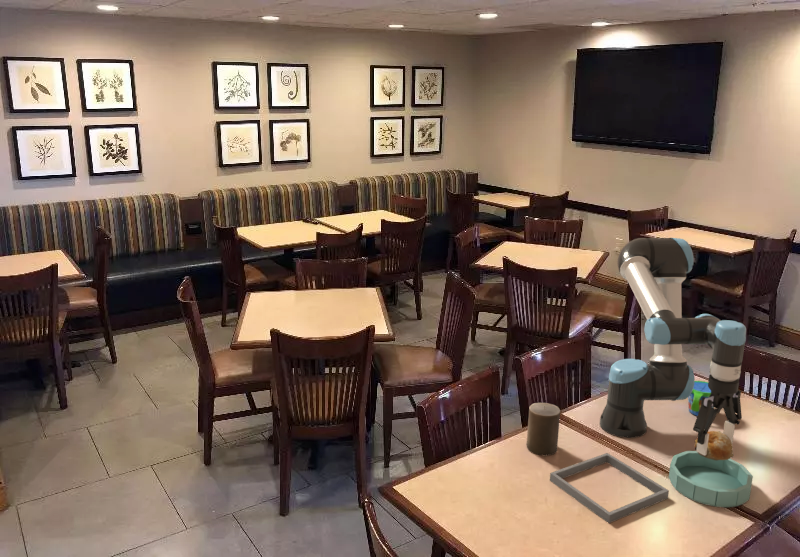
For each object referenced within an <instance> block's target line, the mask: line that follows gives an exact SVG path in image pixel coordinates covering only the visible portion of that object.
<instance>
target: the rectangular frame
mask: <svg viewBox="0 0 800 557" xmlns="http://www.w3.org/2000/svg"><path fill="white" fill-rule="evenodd" d="M605 463H607V464H608V465H610V466H612V467H613V468H614V469H617V471H619V472H621V473H623V474H624V475H626V476H628V477H629V478H631V479H633V480H634V481H635V482H637V483H639V484H640V485H642V486H643V487H645V488H647V489H649V491H652V492H653V493H652V494H650V495H647V496H645V497H643V498H640V499H638V500H635V501H633V502H630V503H628V504H626V505H624V506H621V507H618V508H616V509H613V510H610V511H609V510H608V509H606V508H604V507H603V506H602V505H600V504H599V503H597V502H596V501H594V500H593V499H591V497H589V496H588V495H586V494H584V493H583V492H582V491H580V490H579V489H578V488H576V487H575V486H574V485H572V484H570V483H569V482H568V481H566V480H565V478H567V477H570V476H573V475H576V474H579V473H581V472H584V471H587V470H590V469H592V468H595V467H598V466H600V465H603V464H605ZM549 474H550V475H549V482H551V483H552V482H553V484H554V485H555V486H556V487H558V488H559V487H560V488H559V489H561V491H563V492H565V493H566V494H568V495H569V496H571V498H573V499H574V498H575V500H576V501H577V502H579V503H580V504H581V505H582V506H584V507H585V508H587V509H588V510H590V511H591V512H593V513H594V514H595V515H596V516H598V517H599V518H601V519H602V520H603V521H605V523H607V522H608V523H607V524H611V523H613V522H616V521H618V520H620V519H622V518H625V517H627V516H629V515H630V516H631V514H634V513H636V512H639V511H641V510H643V509H646V508H648V507H651V506H653V505H655V504H658V503H659V502H662V501H665V500H667V499H669V492H670V490H669V489H668V488H666V487H664V486H662V485H661V484H659V483H658V482H656V481H655V480H653V479H651V478H649V477H648V476H646V475H645V474H643V473H641V472H639V471H638V470H636V469H634V468H633V467H631V466H629V465H628V464H626V463H624V462H623V461H621V460H620V459H618V458H616V457H615V456H613V455H611V454H610V453H608V452H605V453H603V454H601V455H597V456H595V457H592V458H589V459H586V460H583V461H581V462H578V463H574V464H572V465H569V466H566V467H563V468H560V469H558V470H555V471H553V472H550V473H549Z"/></svg>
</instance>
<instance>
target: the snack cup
mask: <svg viewBox="0 0 800 557" xmlns="http://www.w3.org/2000/svg"><path fill="white" fill-rule="evenodd" d="M710 394H711V390H710V389H709V387H708V381H703V380H695V381H694V388H693V391H692V393H691V394H690V396H689V397H688V398H687V401H688V411H689V413H691V414H692V415H694V416H696V417H697V416H698V413H699V410H700V407H701V402H702V398H703V397H705V398H709V396H710ZM712 408H714V407H713V406H712ZM714 409H715V408H714Z"/></svg>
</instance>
